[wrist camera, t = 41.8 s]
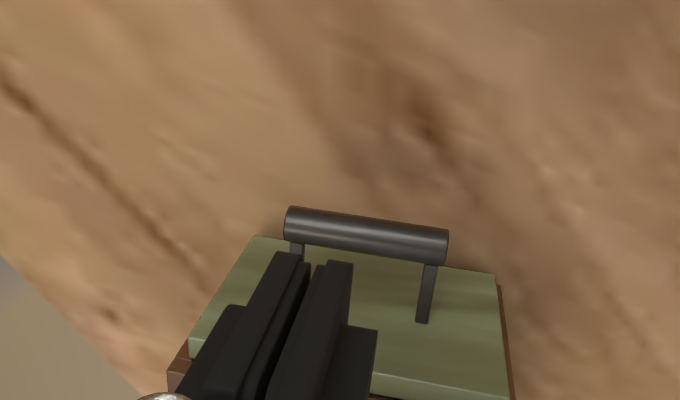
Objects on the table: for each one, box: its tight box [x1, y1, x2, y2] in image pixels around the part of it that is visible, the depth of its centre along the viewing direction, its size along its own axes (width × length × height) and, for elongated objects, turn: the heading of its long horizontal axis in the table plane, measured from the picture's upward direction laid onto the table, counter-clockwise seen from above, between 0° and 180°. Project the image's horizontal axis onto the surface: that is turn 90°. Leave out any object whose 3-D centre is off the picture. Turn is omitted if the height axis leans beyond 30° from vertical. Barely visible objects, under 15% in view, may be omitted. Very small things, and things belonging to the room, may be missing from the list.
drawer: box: [188, 205, 510, 400], centre depth 29 cm, size 20×13×9 cm, turn 176°
